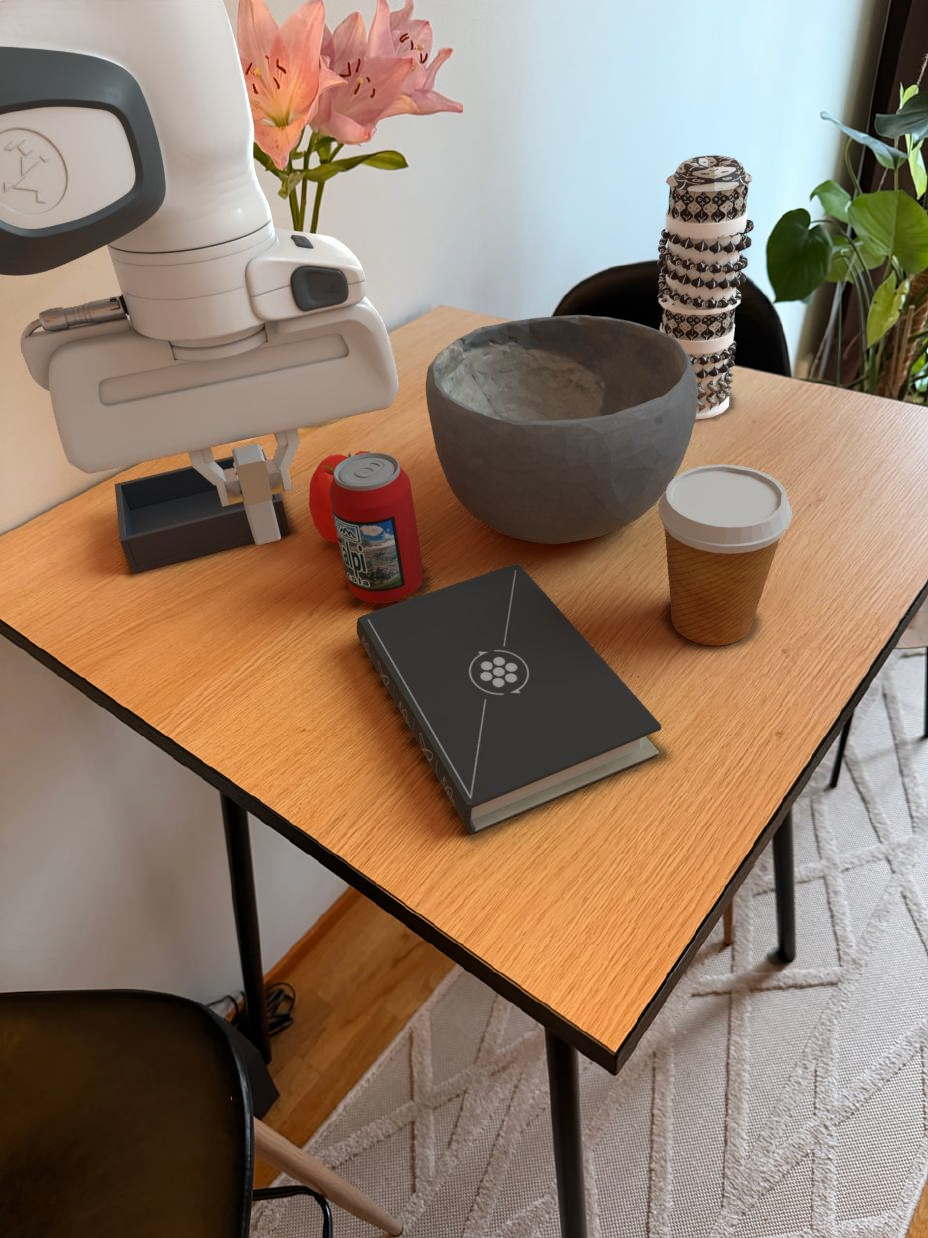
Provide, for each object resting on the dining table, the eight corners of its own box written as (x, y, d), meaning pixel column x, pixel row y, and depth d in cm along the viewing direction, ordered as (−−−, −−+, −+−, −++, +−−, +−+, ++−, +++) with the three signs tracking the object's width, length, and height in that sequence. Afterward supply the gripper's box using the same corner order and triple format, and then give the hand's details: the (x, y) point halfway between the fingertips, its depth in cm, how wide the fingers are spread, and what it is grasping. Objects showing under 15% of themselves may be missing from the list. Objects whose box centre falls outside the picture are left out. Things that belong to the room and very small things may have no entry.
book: (359, 645, 75) (353, 618, 73) (519, 589, 79) (518, 561, 77) (467, 838, 59) (463, 808, 57) (660, 755, 63) (662, 726, 61)
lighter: (247, 516, 64) (219, 410, 59) (271, 510, 64) (245, 405, 59) (263, 568, 58) (233, 457, 53) (289, 561, 59) (262, 451, 54)
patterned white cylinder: (740, 419, 99) (770, 170, 83) (653, 423, 100) (667, 178, 84) (726, 381, 106) (752, 146, 90) (646, 386, 107) (657, 153, 91)
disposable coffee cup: (798, 627, 72) (823, 499, 64) (708, 677, 69) (724, 547, 61) (713, 571, 79) (727, 448, 71) (627, 613, 75) (632, 489, 68)
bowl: (495, 430, 101) (486, 297, 92) (715, 463, 92) (730, 318, 83) (390, 553, 85) (366, 405, 75) (645, 607, 76) (654, 447, 66)
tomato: (317, 514, 91) (302, 447, 86) (405, 503, 91) (395, 436, 86) (314, 568, 84) (298, 499, 79) (410, 556, 84) (400, 486, 79)
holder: (132, 574, 86) (119, 541, 83) (126, 515, 94) (114, 483, 92) (290, 533, 89) (282, 500, 86) (270, 479, 97) (262, 448, 95)
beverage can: (333, 595, 80) (307, 478, 73) (381, 556, 84) (361, 441, 77) (393, 619, 77) (372, 499, 70) (439, 576, 81) (424, 459, 74)
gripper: (4, 337, 46) (94, 559, 55) (391, 265, 50) (417, 481, 59) (10, 297, 51) (91, 508, 59) (363, 235, 55) (391, 439, 64)
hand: (256, 494), depth 59 cm, fingers closed on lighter, 2 cm apart
